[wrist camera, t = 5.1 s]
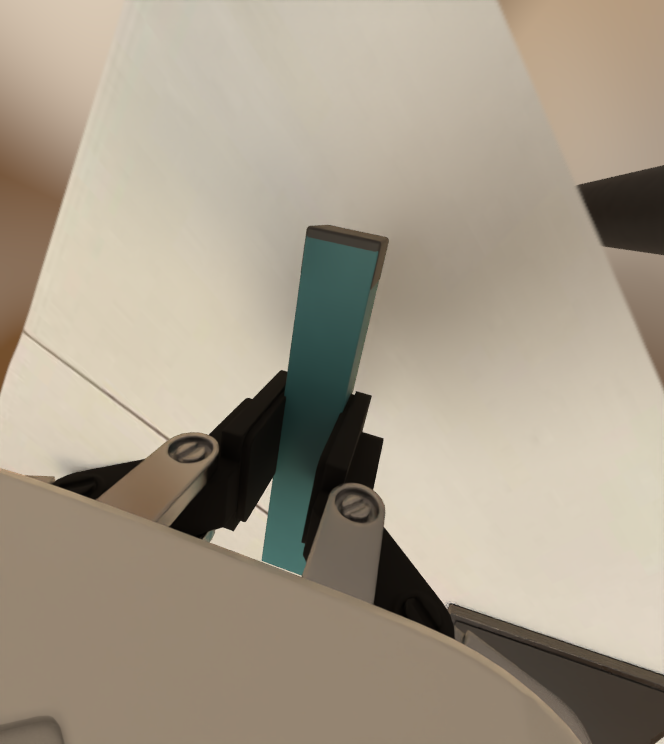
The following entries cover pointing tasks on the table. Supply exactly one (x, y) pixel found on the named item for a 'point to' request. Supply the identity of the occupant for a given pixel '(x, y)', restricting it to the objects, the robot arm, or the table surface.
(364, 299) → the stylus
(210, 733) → the robot arm
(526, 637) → the tablet
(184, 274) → the table surface
